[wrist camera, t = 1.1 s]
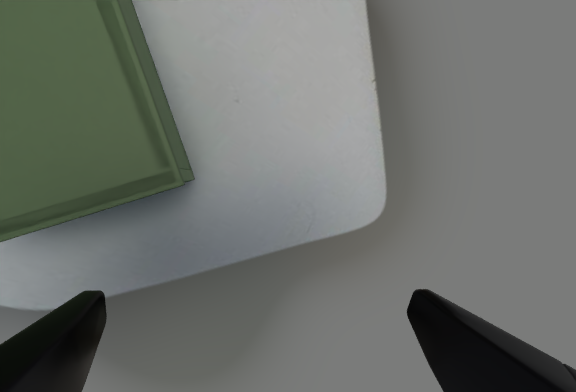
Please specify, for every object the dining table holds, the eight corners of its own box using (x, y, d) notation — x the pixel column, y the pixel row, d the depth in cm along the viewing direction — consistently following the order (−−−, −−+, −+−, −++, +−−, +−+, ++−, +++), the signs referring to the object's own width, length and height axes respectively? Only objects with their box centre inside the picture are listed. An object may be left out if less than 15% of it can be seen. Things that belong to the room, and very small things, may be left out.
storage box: (198, 180, 24) (184, 185, 15) (32, 232, 21) (-99, 272, 13) (123, -31, 21) (55, -171, 13) (-71, 1, 19) (-318, -143, 10)
